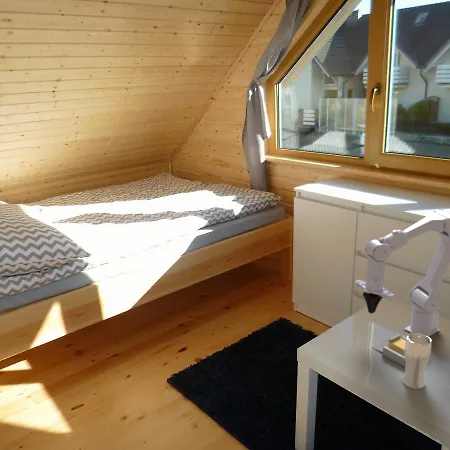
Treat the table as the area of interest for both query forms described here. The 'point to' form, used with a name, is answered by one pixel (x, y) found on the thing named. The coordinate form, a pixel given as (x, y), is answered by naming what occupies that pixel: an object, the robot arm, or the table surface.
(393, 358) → the dock
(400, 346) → the toy bed
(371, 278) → the robot arm
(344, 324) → the table surface
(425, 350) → the beer glass
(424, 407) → the table surface
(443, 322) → the table surface
